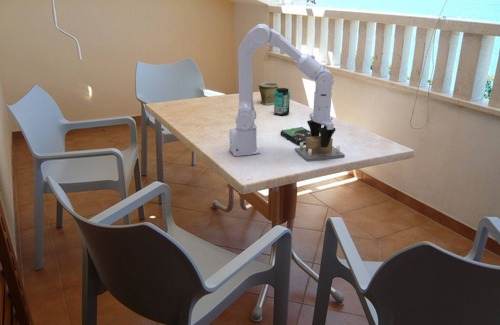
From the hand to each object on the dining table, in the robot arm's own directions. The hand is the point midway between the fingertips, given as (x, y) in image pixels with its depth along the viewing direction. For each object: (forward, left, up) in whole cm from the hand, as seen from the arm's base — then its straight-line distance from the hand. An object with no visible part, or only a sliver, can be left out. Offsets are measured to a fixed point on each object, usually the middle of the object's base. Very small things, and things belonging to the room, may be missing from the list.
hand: (319, 143), depth 145 cm
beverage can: (+6, +54, -4) cm, 54 cm away
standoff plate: (0, 0, -4) cm, 4 cm away
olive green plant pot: (+7, +77, -4) cm, 77 cm away
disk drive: (0, +18, -5) cm, 19 cm away
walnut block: (0, 0, -3) cm, 3 cm away
